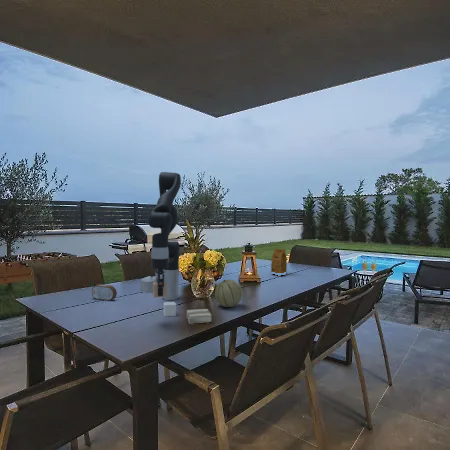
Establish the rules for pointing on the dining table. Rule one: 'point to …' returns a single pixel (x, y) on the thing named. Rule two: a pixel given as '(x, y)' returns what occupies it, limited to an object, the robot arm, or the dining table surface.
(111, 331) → the dining table surface
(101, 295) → the tin
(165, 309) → the offwhite cube
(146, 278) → the lumpy-topped squat cylinder
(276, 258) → the coffee package
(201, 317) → the gray block
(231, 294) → the cantaloupe
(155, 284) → the terracotta cube
